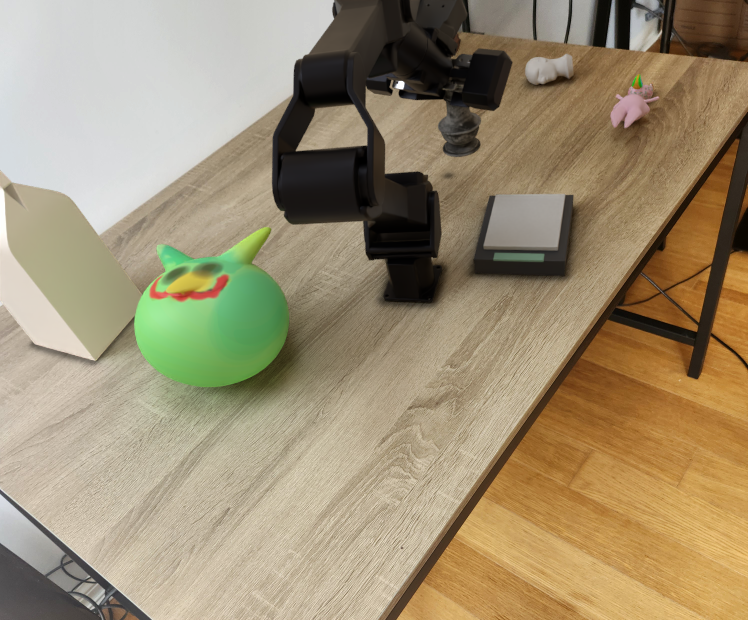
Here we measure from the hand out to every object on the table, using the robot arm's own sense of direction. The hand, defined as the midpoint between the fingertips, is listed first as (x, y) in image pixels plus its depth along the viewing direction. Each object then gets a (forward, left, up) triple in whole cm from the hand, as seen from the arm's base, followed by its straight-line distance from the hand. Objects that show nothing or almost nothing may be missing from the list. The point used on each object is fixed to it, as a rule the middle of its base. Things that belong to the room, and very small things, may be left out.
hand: (462, 96), depth 86 cm
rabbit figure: (+14, -22, -13) cm, 29 cm away
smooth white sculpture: (+27, -9, -13) cm, 31 cm away
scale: (-14, -10, -12) cm, 21 cm away
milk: (-33, +48, -13) cm, 60 cm away
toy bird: (-37, +23, -13) cm, 46 cm away
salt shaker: (-1, +1, -7) cm, 7 cm away
